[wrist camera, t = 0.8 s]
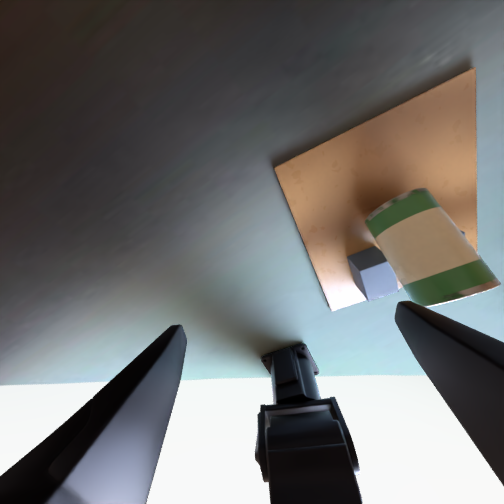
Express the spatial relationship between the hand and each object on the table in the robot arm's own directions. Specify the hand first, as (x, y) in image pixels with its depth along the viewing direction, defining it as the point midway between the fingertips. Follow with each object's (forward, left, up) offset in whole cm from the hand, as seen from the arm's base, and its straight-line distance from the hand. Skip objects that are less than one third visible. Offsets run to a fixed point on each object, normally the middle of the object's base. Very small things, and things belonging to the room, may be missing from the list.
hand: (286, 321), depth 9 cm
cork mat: (-5, -11, -14) cm, 18 cm away
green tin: (-6, -11, -13) cm, 18 cm away
